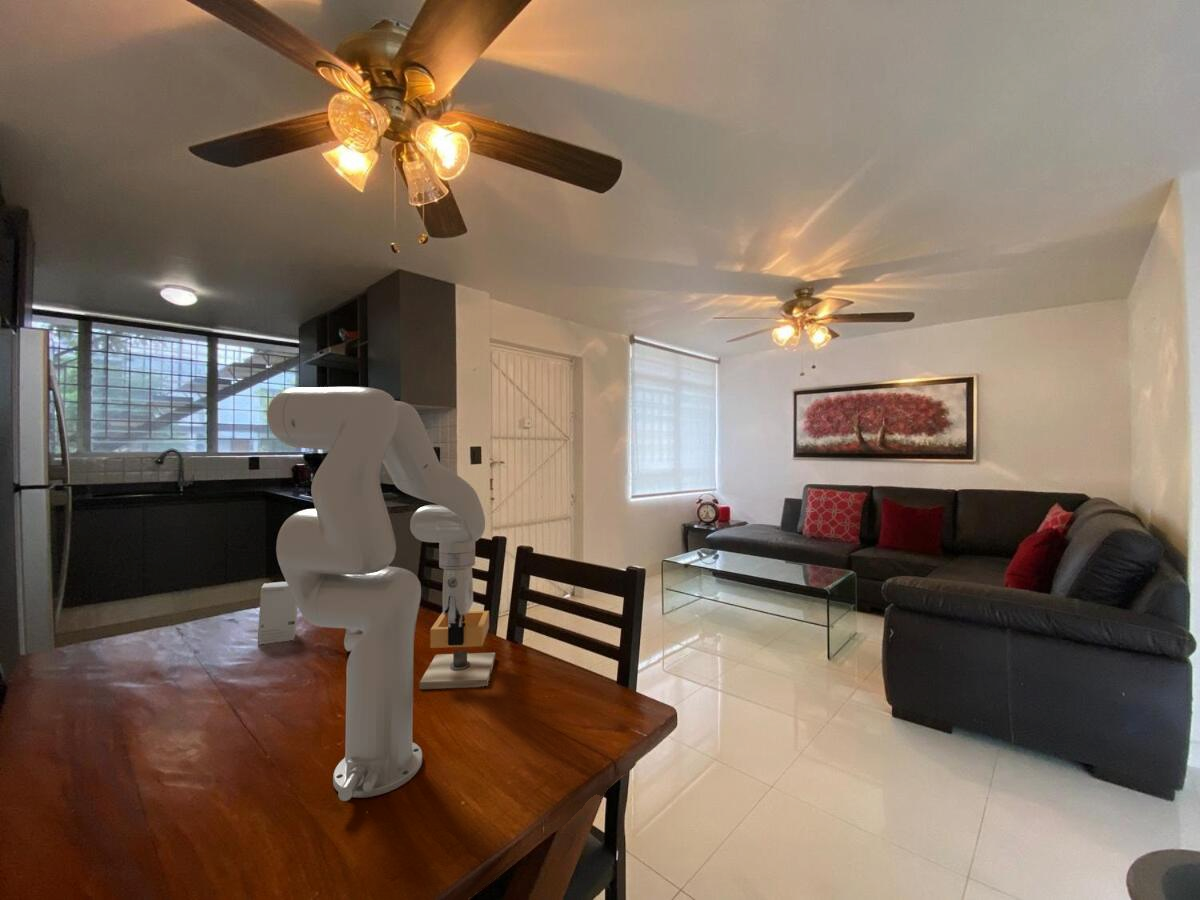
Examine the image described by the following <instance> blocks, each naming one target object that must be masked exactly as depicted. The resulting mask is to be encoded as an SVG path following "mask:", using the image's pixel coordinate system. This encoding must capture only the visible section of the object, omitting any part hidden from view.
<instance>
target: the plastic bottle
mask: <svg viewBox="0 0 1200 900" xmlns="http://www.w3.org/2000/svg"><path fill="white" fill-rule="evenodd" d="M362 635H363V631H362V630H357V629H348V628H345V634H344V640H343V644H344V649H345V650H346V651H347V652H350V653H351V651H352V650H353V648H354V647H355V646H356V644H357V643H358V642H359V640H360V639H361V637H362Z"/></svg>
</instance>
